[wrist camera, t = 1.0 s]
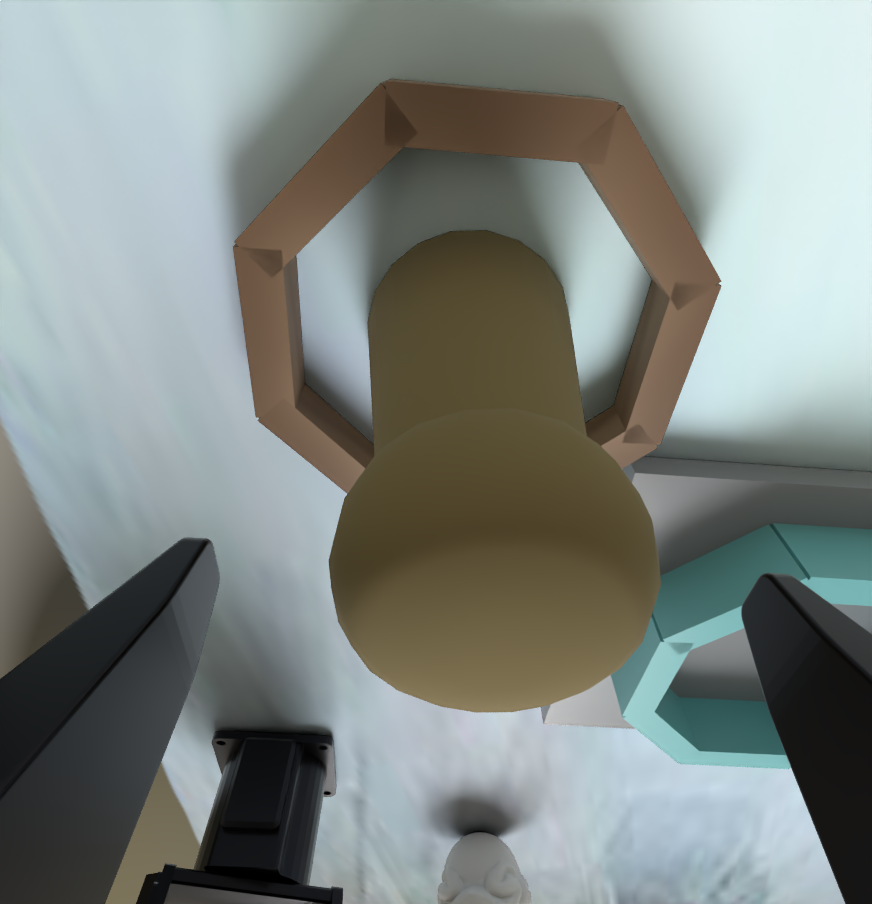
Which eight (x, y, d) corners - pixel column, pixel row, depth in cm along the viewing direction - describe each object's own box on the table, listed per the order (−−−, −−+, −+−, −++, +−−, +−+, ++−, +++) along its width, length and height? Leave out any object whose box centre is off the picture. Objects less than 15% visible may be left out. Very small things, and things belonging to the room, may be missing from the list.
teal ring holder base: (840, 720, 29) (883, 792, 26) (540, 705, 28) (551, 777, 26) (1065, 485, 20) (1170, 557, 17) (627, 455, 19) (659, 524, 16)
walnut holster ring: (615, 503, 20) (627, 532, 19) (278, 481, 20) (268, 509, 19) (754, 112, 13) (785, 118, 12) (230, 64, 13) (208, 64, 11)
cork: (342, 252, 15) (202, 530, 6) (563, 209, 14) (762, 452, 6) (393, 431, 19) (349, 776, 10) (573, 404, 18) (705, 747, 9)
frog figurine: (451, 859, 41) (453, 988, 35) (423, 820, 37) (420, 959, 31) (532, 850, 40) (548, 982, 34) (512, 810, 36) (526, 952, 30)
